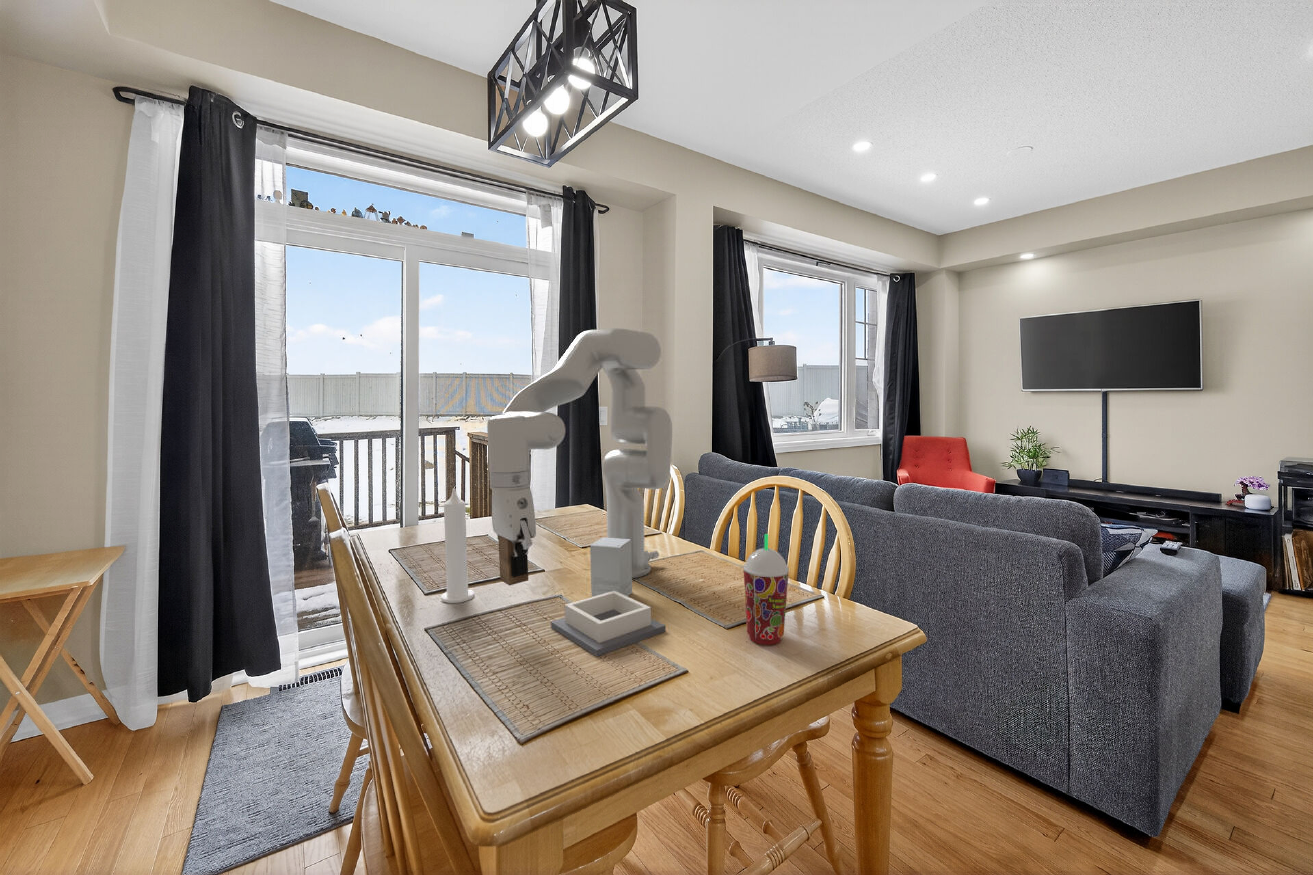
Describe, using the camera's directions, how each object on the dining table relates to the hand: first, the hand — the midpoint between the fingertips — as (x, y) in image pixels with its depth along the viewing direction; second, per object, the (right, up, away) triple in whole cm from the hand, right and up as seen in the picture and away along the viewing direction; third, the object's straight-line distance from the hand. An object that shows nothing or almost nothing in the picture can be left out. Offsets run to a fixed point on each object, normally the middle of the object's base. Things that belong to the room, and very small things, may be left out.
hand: (514, 571), depth 110 cm
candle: (-17, -10, +18) cm, 27 cm away
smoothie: (+48, -12, -4) cm, 50 cm away
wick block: (0, -2, 0) cm, 2 cm away
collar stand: (+18, -12, 0) cm, 22 cm away
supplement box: (+18, -10, +18) cm, 27 cm away
